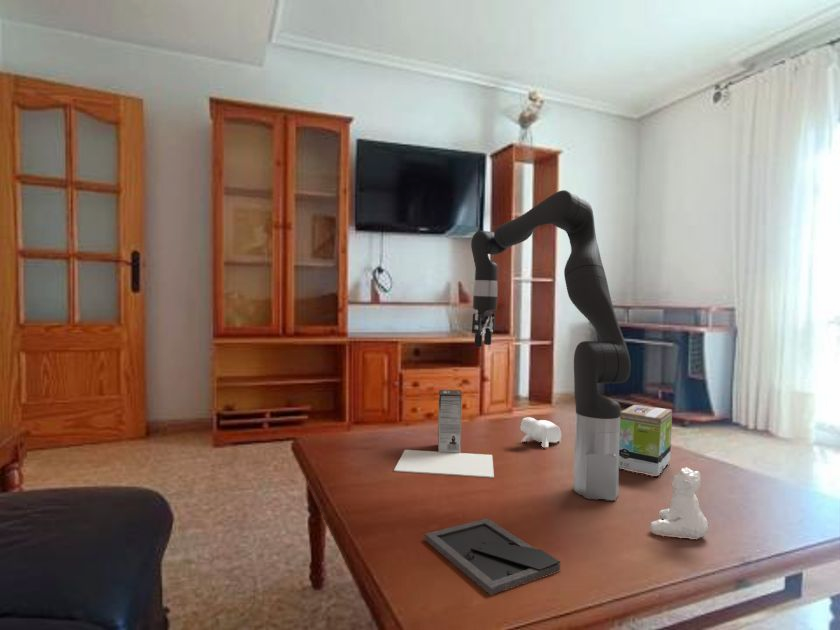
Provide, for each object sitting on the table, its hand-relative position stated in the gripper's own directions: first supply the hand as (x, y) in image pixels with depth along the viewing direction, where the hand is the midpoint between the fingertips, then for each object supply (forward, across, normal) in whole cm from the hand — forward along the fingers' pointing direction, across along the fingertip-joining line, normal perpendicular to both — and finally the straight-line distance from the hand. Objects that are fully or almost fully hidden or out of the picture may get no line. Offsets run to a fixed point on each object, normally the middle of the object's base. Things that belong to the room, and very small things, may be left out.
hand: (482, 345), depth 152 cm
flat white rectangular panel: (+27, -33, -4) cm, 43 cm away
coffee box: (+28, -22, +1) cm, 35 cm away
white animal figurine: (+28, -3, -20) cm, 34 cm away
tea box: (+26, -8, -49) cm, 56 cm away
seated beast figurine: (+25, -46, -56) cm, 77 cm away
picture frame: (+26, -71, -29) cm, 81 cm away
